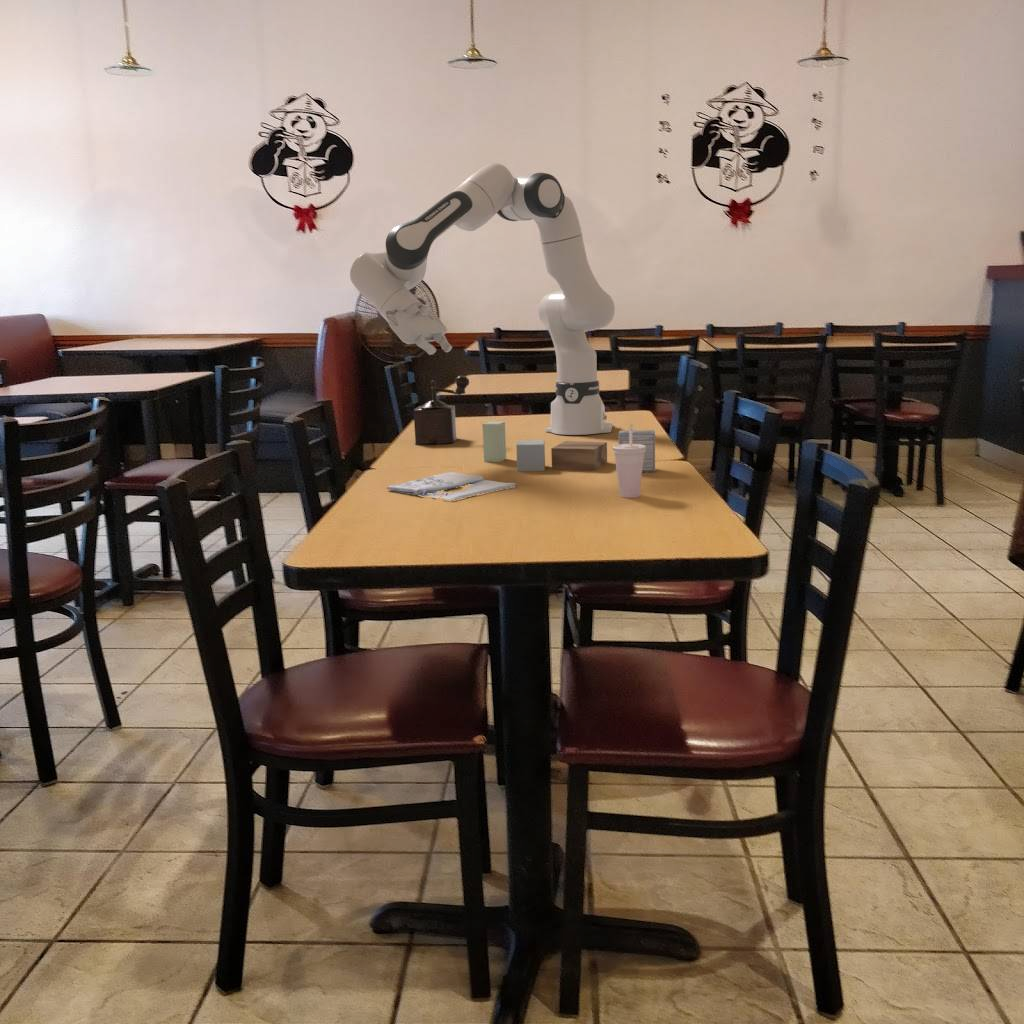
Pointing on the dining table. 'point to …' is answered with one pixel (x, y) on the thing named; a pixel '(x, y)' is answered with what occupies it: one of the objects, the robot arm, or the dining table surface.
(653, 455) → the medicine box
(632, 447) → the smoothie
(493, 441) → the sage pillar
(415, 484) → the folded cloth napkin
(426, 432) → the coffee grinder
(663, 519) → the dining table surface
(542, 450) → the slate block
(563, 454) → the walnut block
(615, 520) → the dining table surface
